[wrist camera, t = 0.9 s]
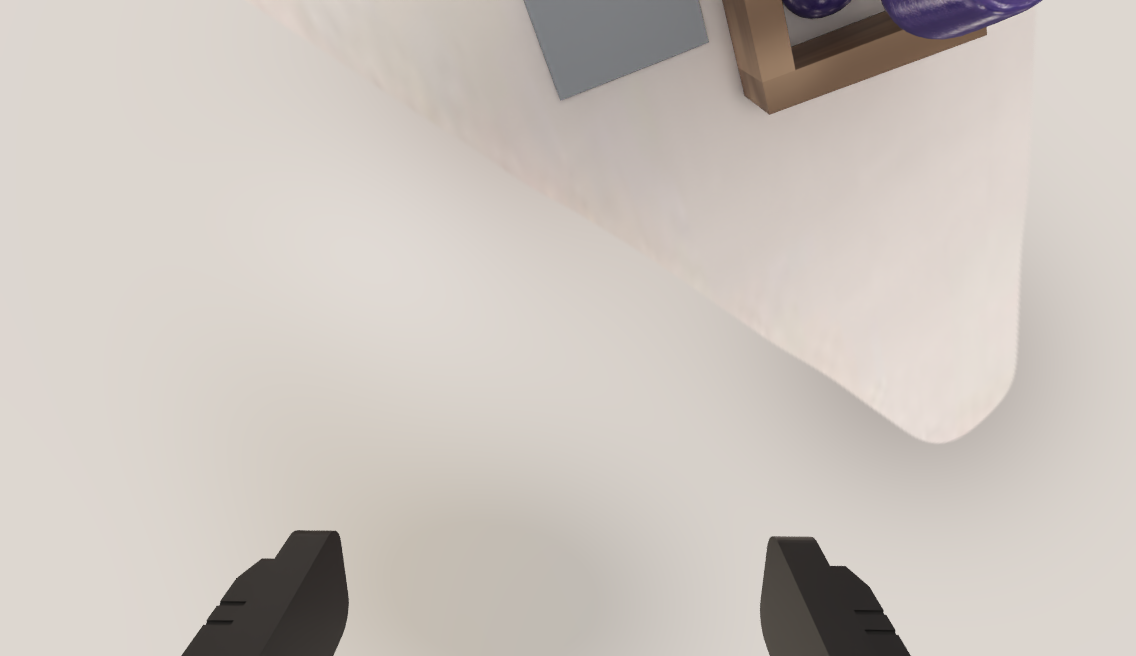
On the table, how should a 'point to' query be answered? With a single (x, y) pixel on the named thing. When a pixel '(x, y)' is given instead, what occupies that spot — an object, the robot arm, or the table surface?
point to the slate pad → (611, 37)
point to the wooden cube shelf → (817, 53)
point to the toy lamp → (927, 14)
